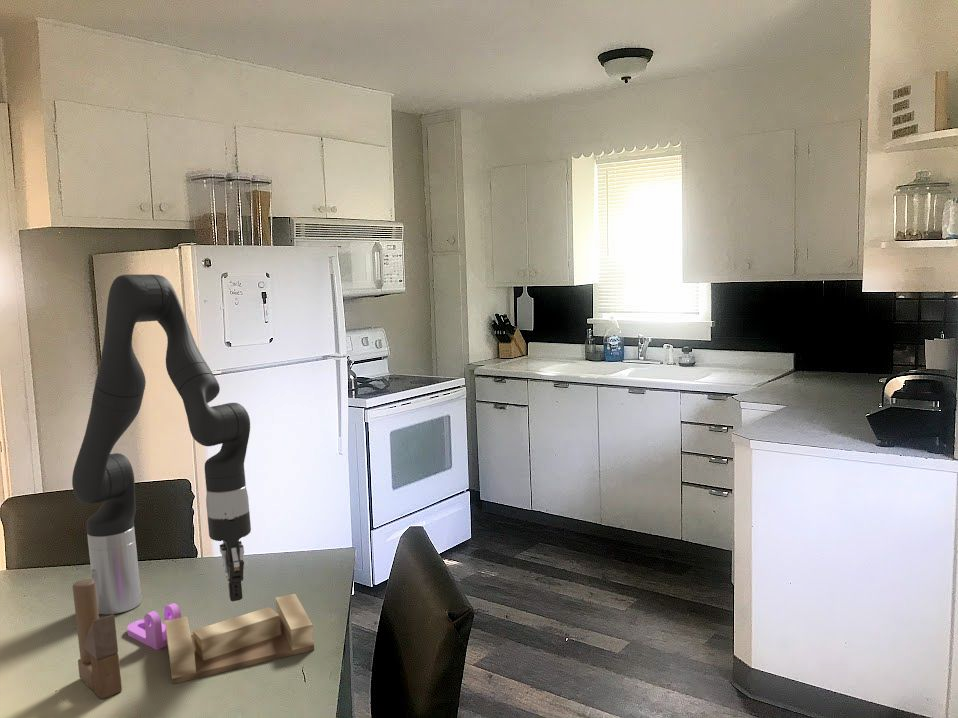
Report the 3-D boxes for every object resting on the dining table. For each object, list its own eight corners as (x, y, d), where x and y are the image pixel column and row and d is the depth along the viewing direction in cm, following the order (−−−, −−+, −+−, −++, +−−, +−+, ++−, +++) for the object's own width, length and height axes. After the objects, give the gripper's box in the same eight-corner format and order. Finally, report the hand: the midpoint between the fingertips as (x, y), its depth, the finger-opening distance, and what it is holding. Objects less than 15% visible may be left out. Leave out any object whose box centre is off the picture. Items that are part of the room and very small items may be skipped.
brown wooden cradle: (172, 684, 139) (170, 657, 138) (167, 645, 153) (164, 620, 153) (314, 649, 149) (312, 624, 148) (296, 616, 164) (295, 593, 163)
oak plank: (203, 660, 145) (201, 640, 144) (194, 650, 149) (192, 630, 148) (280, 634, 154) (279, 615, 153) (270, 626, 158) (269, 606, 157)
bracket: (183, 639, 156) (180, 605, 155) (156, 650, 152) (153, 616, 151) (148, 622, 164) (145, 590, 163) (122, 633, 160) (119, 600, 159)
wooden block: (101, 700, 135) (90, 599, 132) (79, 678, 142) (68, 582, 140) (123, 691, 137) (112, 592, 135) (100, 670, 145) (90, 576, 143)
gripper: (203, 504, 152) (211, 591, 155) (211, 524, 140) (219, 617, 143) (243, 498, 155) (251, 583, 158) (254, 516, 143) (262, 608, 146)
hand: (236, 599), depth 150 cm, fingers closed
